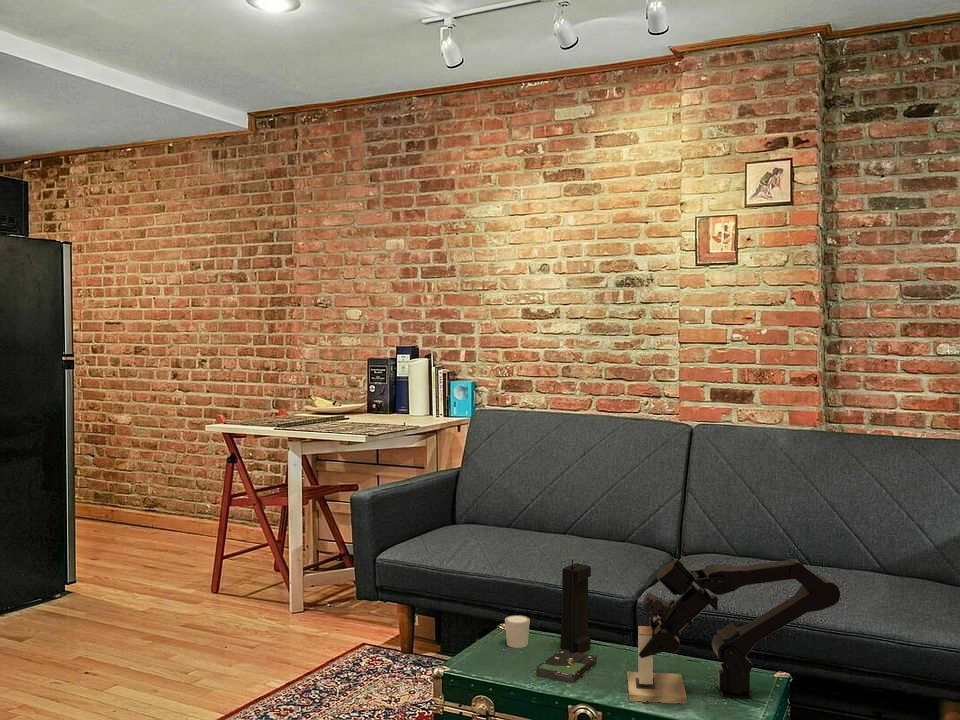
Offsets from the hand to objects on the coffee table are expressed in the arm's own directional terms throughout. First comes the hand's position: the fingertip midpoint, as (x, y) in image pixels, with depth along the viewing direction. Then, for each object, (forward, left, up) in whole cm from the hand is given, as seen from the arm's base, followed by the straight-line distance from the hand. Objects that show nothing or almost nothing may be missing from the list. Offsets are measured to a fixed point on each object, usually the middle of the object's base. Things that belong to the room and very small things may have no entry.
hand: (639, 652), depth 211 cm
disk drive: (+17, -10, -10) cm, 22 cm away
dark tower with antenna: (+16, -25, -9) cm, 31 cm away
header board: (-4, 0, -9) cm, 10 cm away
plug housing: (-1, 0, -7) cm, 7 cm away
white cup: (+32, -27, -9) cm, 43 cm away
